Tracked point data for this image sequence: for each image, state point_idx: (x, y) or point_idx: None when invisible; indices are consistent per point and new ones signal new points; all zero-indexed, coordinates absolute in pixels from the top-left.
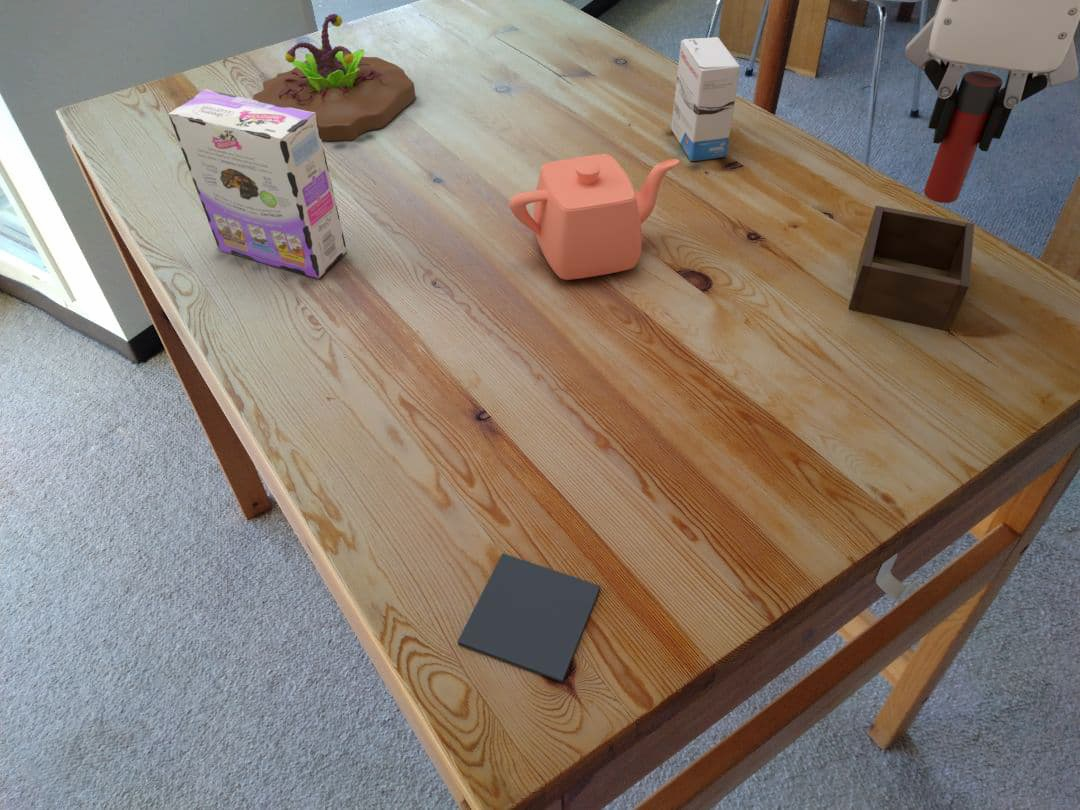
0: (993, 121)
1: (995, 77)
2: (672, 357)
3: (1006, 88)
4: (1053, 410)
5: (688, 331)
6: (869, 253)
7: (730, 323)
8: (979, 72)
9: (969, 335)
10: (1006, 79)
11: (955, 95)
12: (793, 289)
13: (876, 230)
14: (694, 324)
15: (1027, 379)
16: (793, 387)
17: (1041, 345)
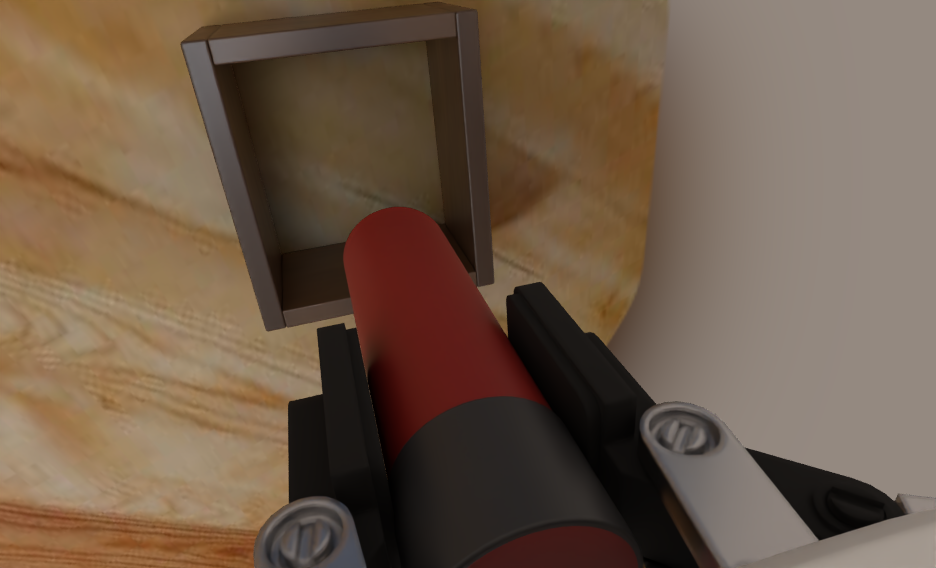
0: None
1: (607, 551)
2: (50, 535)
3: (655, 510)
4: (616, 321)
5: (24, 479)
6: (264, 286)
7: (81, 422)
8: (509, 551)
9: (494, 225)
10: (665, 474)
11: (392, 541)
12: (131, 270)
13: (239, 182)
14: (19, 460)
15: (585, 281)
16: (268, 478)
17: (608, 188)
